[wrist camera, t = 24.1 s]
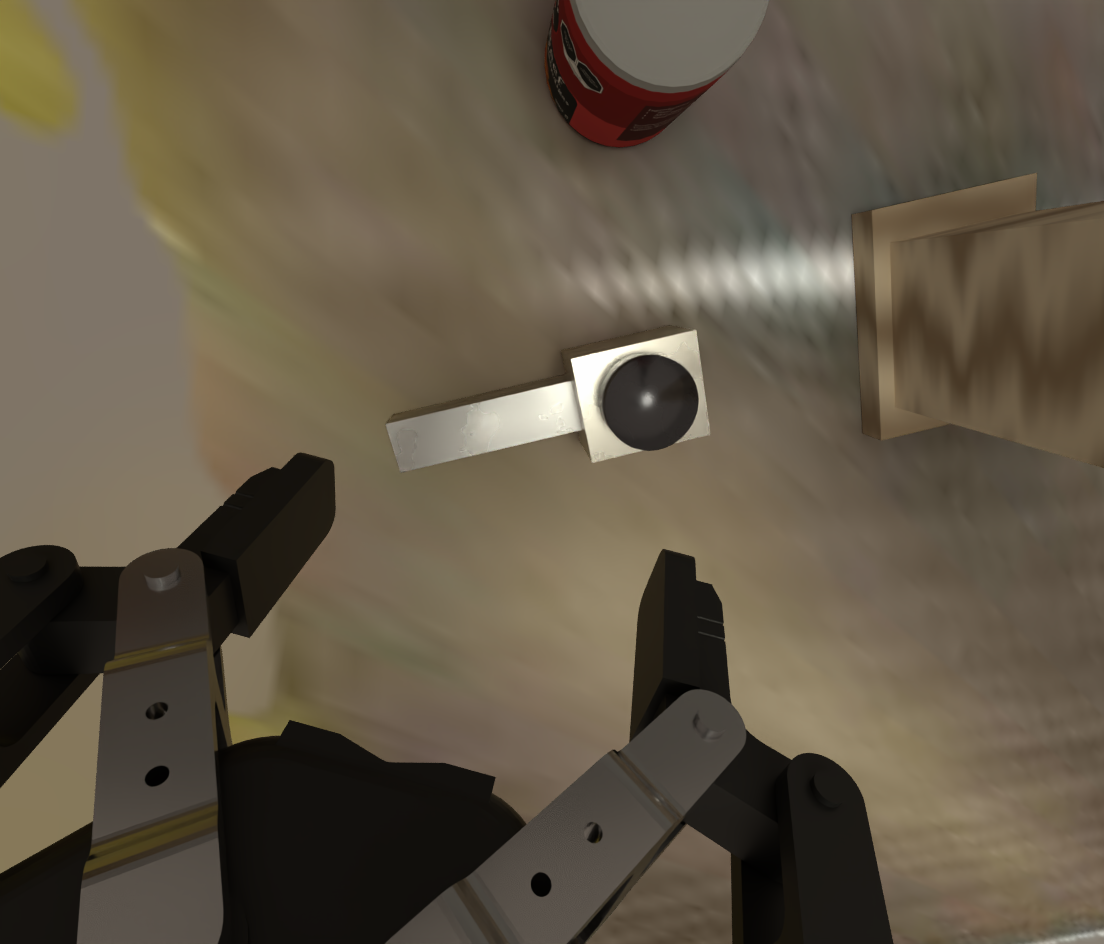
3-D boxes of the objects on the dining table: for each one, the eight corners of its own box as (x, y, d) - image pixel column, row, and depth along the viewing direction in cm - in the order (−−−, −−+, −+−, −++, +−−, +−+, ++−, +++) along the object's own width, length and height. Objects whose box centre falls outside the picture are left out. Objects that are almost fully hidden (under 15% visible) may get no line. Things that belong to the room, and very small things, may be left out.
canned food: (563, -36, 31) (601, -204, 20) (704, 19, 32) (808, -112, 22) (526, 124, 33) (542, 45, 22) (660, 169, 34) (735, 115, 24)
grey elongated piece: (386, 390, 36) (362, 412, 30) (669, 324, 37) (709, 332, 30) (414, 480, 38) (397, 520, 31) (683, 416, 39) (723, 443, 32)
